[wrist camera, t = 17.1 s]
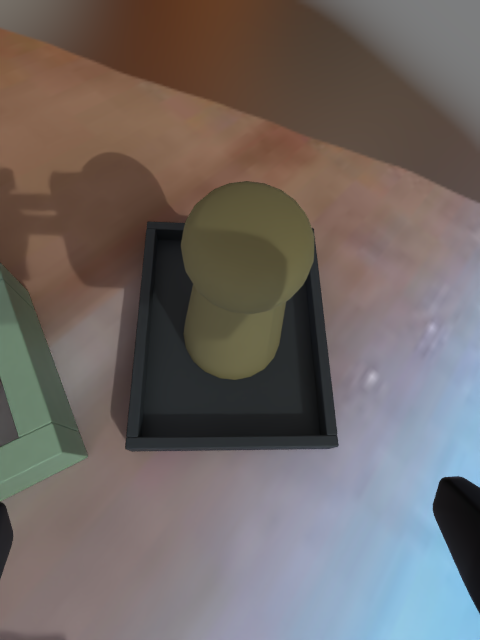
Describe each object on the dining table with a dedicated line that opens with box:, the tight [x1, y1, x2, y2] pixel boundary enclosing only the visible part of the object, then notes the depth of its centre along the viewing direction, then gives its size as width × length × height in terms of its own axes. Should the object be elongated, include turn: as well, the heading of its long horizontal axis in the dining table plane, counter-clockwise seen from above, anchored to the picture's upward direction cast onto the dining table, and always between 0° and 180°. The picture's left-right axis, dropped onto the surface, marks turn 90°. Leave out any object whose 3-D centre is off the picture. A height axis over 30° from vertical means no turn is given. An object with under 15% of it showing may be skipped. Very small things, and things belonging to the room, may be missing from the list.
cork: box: [181, 181, 314, 380], centre depth 18 cm, size 6×6×11 cm
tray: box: [125, 222, 338, 451], centre depth 23 cm, size 14×11×2 cm
